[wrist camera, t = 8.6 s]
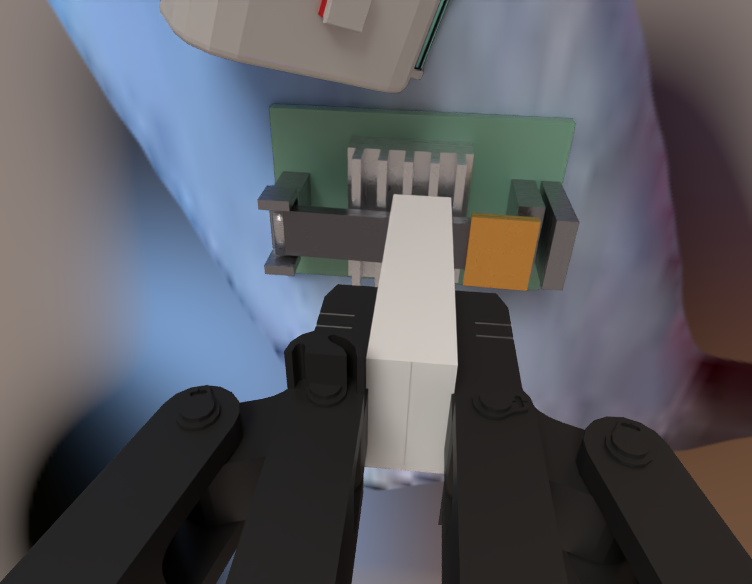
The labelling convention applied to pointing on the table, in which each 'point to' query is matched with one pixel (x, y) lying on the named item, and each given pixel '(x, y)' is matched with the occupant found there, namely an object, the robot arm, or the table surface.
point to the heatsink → (405, 179)
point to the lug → (547, 226)
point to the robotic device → (315, 36)
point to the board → (486, 132)
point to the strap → (369, 231)
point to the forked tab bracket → (282, 198)
